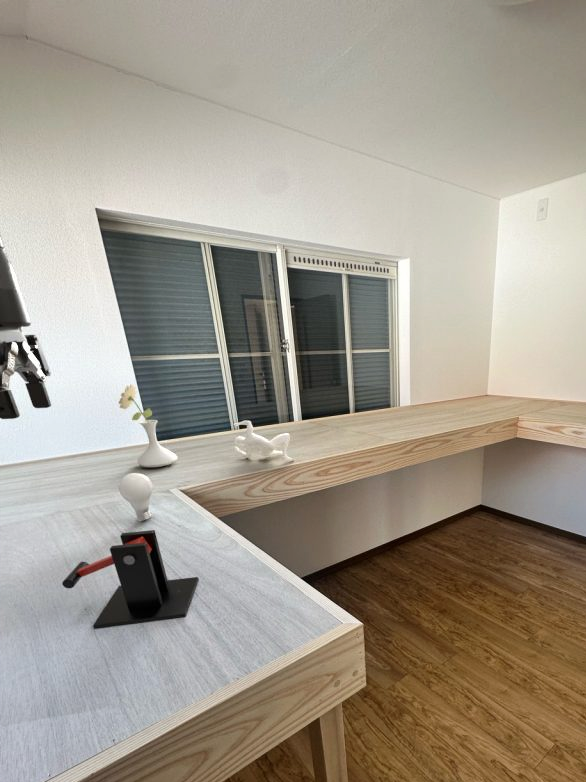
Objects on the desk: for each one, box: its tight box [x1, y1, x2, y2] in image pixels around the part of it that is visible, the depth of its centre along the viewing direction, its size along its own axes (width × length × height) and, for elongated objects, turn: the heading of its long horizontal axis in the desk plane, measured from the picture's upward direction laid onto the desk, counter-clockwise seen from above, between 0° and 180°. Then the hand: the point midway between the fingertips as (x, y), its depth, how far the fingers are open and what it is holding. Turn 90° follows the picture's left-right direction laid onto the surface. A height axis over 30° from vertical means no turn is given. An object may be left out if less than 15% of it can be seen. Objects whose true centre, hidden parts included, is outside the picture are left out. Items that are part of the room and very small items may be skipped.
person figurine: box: [233, 419, 292, 461], centre depth 134 cm, size 13×13×18 cm
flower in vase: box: [118, 383, 178, 468], centre depth 126 cm, size 13×11×25 cm
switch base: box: [92, 529, 199, 630], centre depth 61 cm, size 12×10×12 cm
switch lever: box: [62, 536, 152, 589], centre depth 60 cm, size 11×5×2 cm, turn 101°
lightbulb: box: [118, 472, 154, 522], centre depth 91 cm, size 6×6×11 cm
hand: (27, 412), depth 60 cm, fingers open, 8 cm apart
